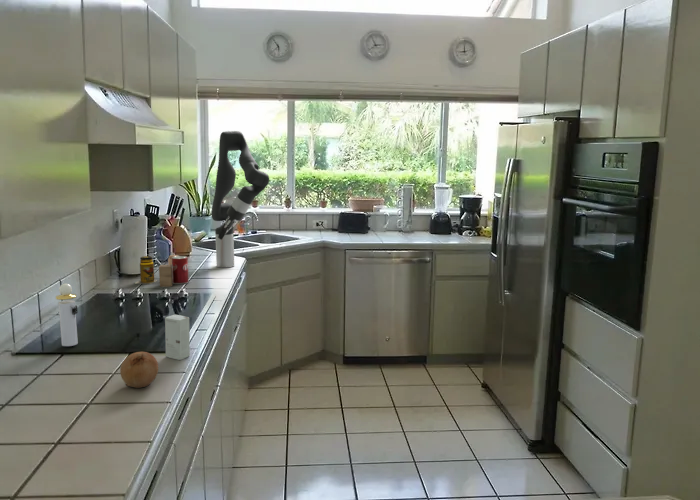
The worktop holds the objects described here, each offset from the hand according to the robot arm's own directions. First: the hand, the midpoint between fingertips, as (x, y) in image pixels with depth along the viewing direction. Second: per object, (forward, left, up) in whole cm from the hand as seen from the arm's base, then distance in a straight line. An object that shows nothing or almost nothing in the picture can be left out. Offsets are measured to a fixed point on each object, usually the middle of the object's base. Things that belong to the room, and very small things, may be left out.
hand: (219, 238), depth 278 cm
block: (+10, -22, -20) cm, 32 cm away
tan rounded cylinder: (-4, -23, -20) cm, 31 cm away
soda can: (+4, -18, -21) cm, 28 cm away
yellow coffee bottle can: (+4, -34, -21) cm, 40 cm away
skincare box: (+103, +17, -21) cm, 106 cm away
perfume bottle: (+96, -20, -21) cm, 101 cm away
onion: (+125, +15, -21) cm, 128 cm away
